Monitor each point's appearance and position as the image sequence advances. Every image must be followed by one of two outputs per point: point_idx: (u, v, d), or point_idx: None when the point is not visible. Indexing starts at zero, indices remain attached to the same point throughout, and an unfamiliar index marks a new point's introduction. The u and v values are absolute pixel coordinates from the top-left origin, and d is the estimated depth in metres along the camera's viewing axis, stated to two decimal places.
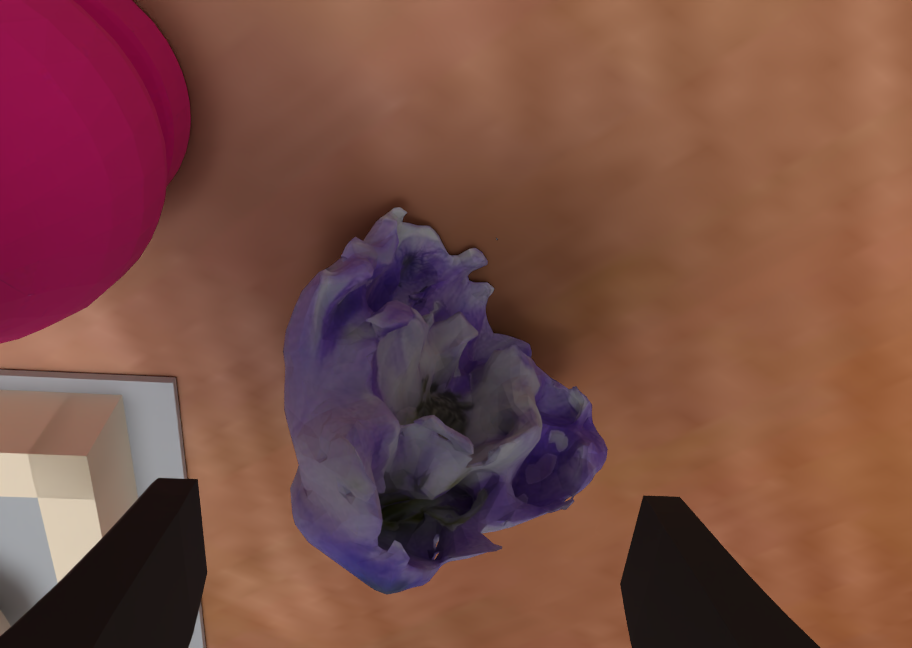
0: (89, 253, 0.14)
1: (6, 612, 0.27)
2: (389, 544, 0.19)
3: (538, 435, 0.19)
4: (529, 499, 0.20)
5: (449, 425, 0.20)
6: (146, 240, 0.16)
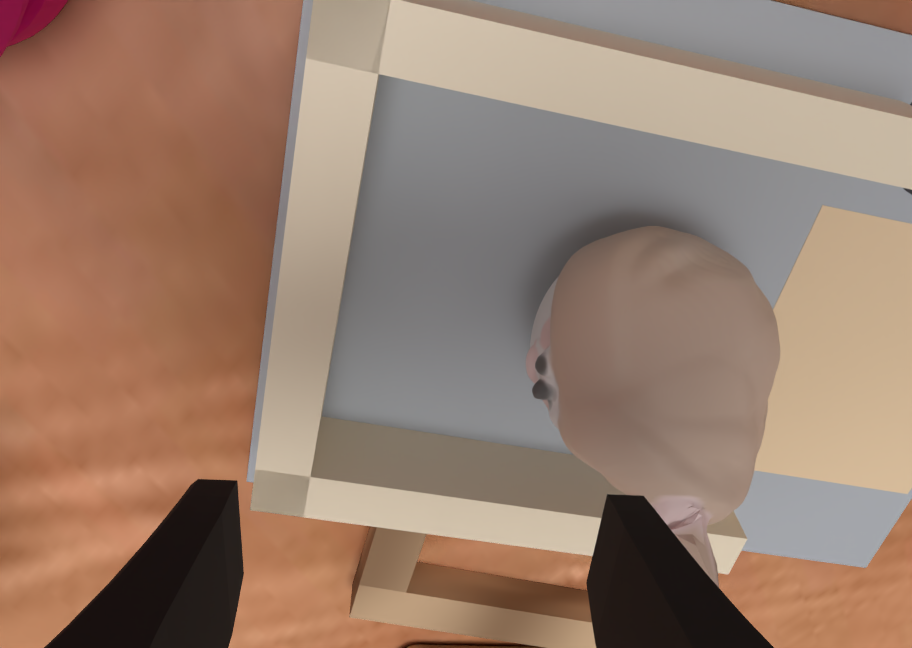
0: None
1: None
2: None
3: None
4: None
5: None
6: None
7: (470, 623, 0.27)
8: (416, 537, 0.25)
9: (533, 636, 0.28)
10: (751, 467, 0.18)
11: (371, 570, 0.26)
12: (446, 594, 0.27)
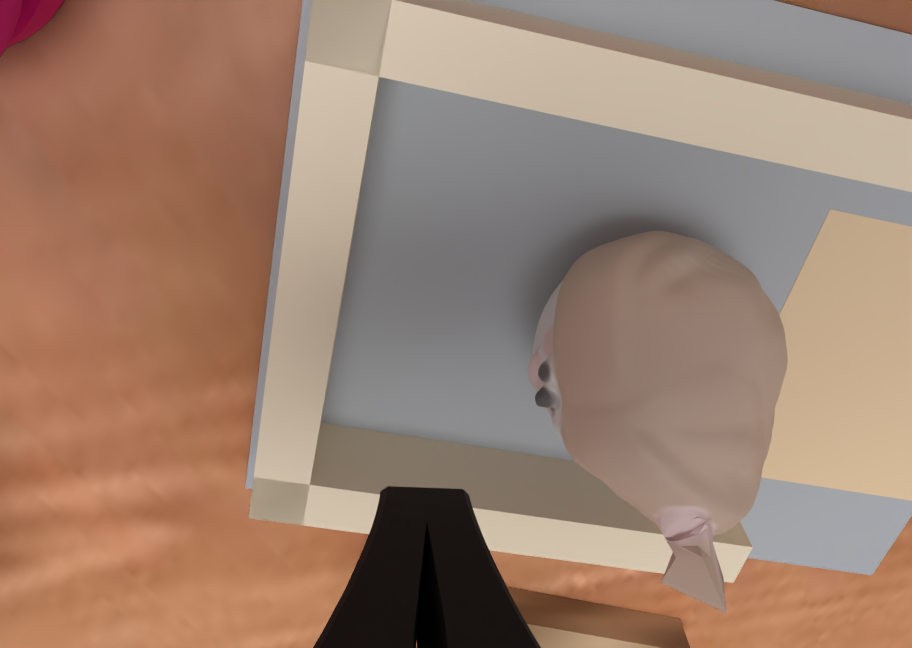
0: None
1: None
2: None
3: None
4: None
5: None
6: None
7: None
8: None
9: None
10: (758, 477, 0.18)
11: None
12: None
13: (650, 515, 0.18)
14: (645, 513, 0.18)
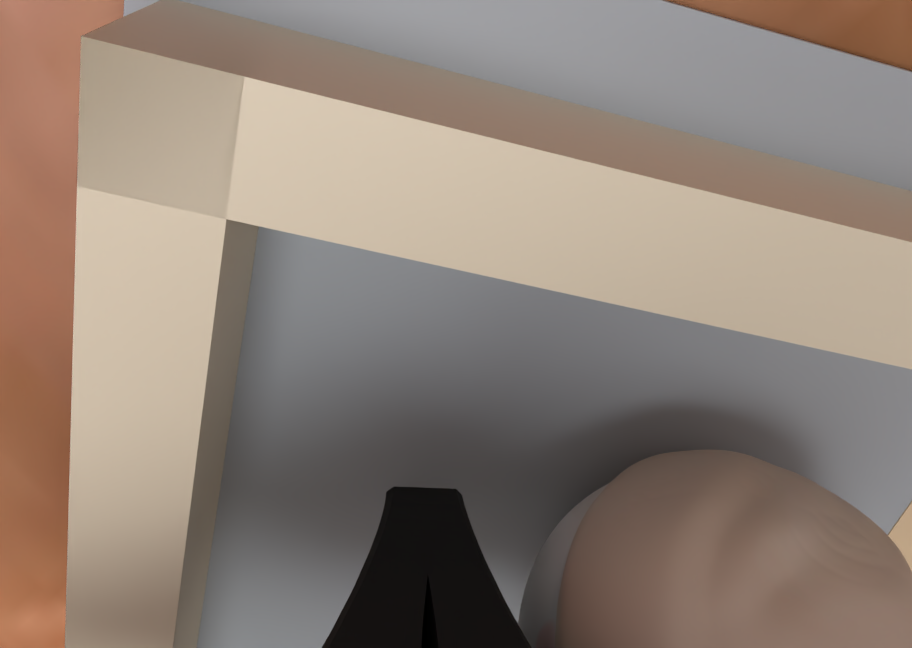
0: None
1: (701, 448, 0.14)
2: None
3: None
4: None
5: None
6: None
7: None
8: None
9: None
10: None
11: None
12: None
13: None
14: None
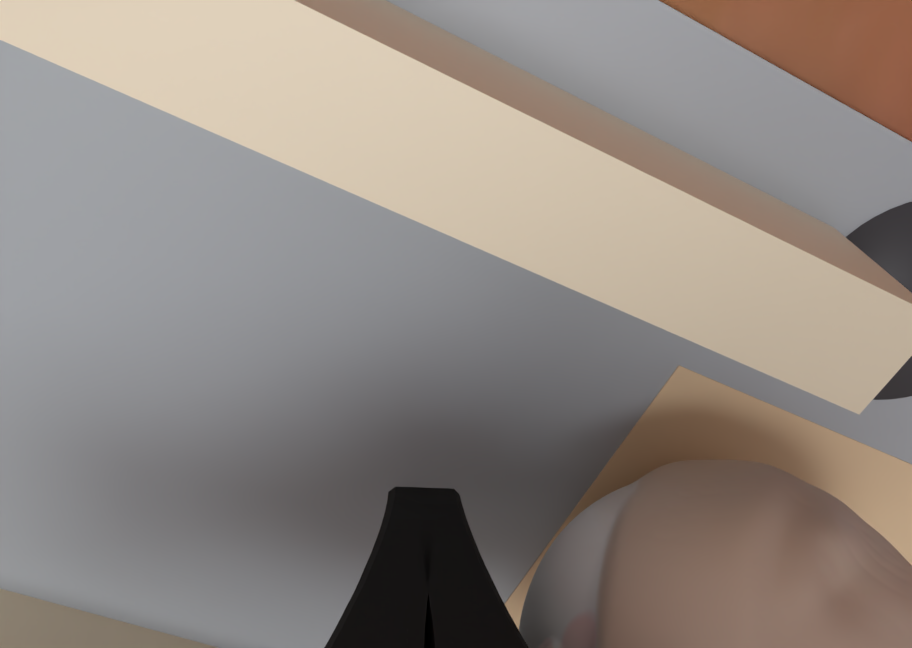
0: None
1: (382, 370, 0.12)
2: None
3: None
4: None
5: None
6: None
7: None
8: None
9: None
10: None
11: None
12: None
13: None
14: None
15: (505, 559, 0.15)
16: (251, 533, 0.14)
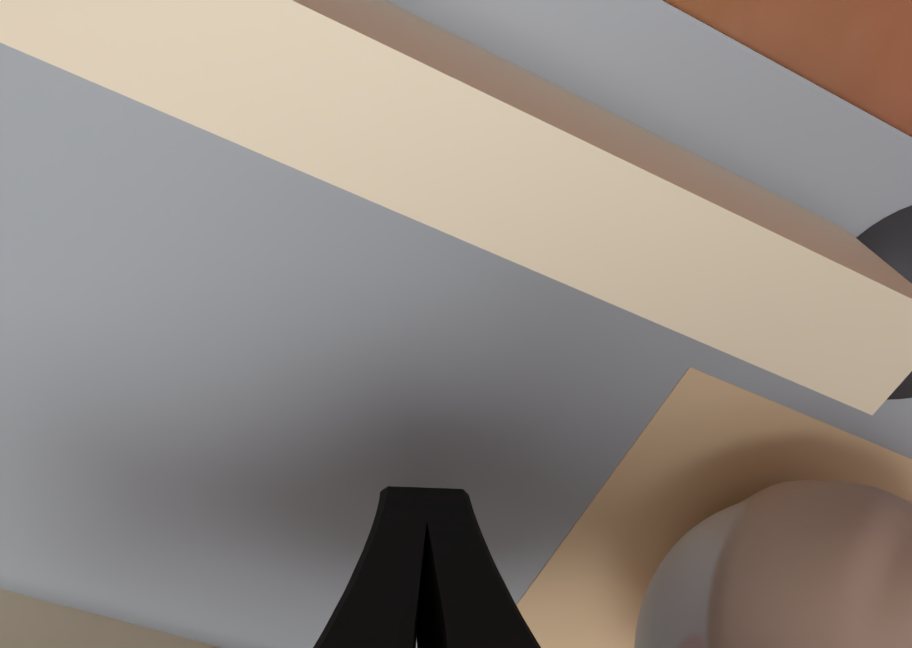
0: None
1: (394, 373, 0.13)
2: None
3: None
4: None
5: None
6: None
7: None
8: None
9: None
10: None
11: None
12: None
13: None
14: None
15: (517, 561, 0.15)
16: (264, 537, 0.14)
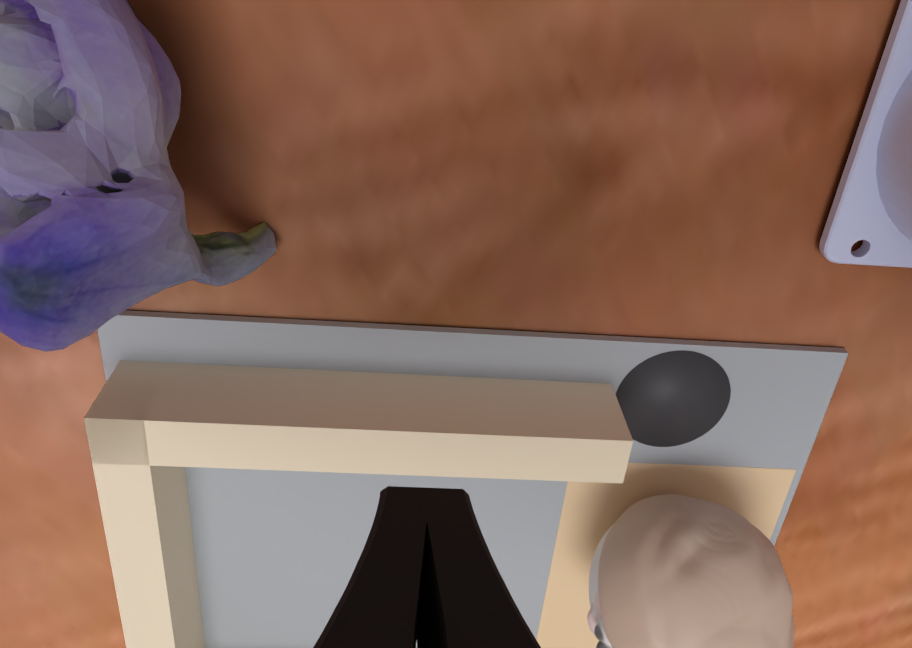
0: None
1: None
2: None
3: None
4: (104, 31, 0.14)
5: None
6: None
7: None
8: None
9: None
10: None
11: None
12: None
13: None
14: None
15: (534, 571, 0.28)
16: None
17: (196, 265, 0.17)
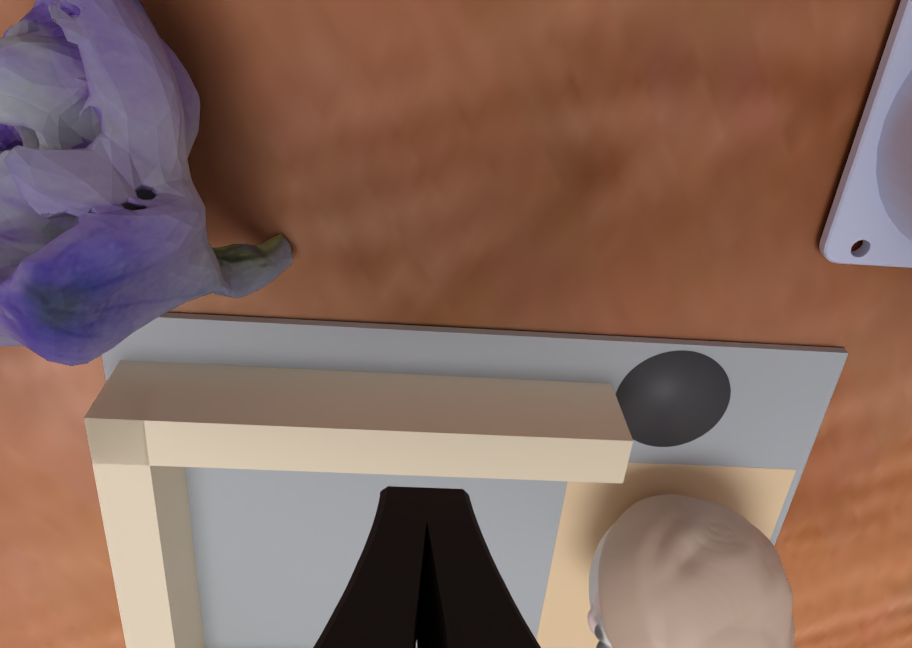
0: None
1: None
2: None
3: None
4: (128, 49, 0.15)
5: None
6: None
7: None
8: None
9: None
10: None
11: None
12: None
13: None
14: None
15: (534, 571, 0.28)
16: None
17: (216, 280, 0.17)
